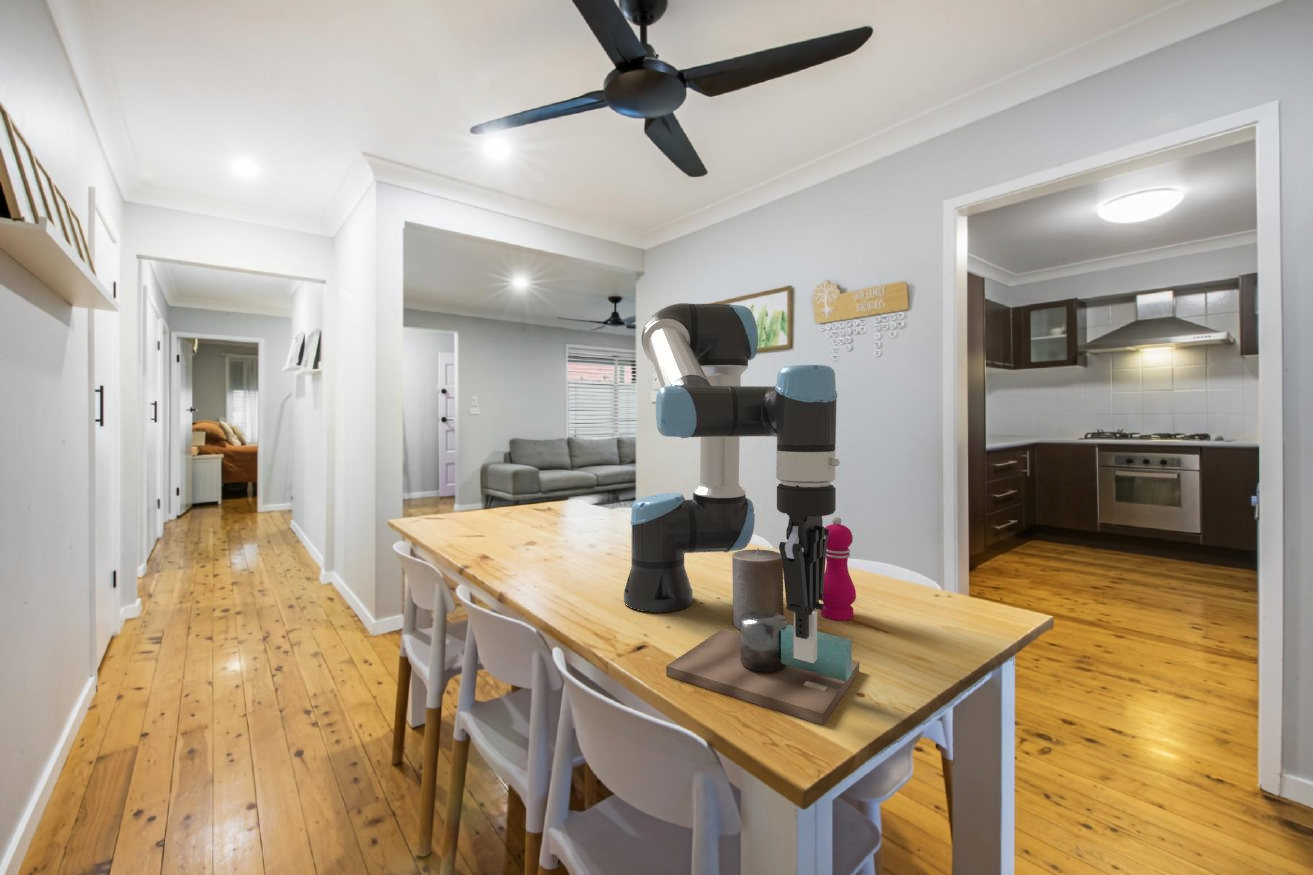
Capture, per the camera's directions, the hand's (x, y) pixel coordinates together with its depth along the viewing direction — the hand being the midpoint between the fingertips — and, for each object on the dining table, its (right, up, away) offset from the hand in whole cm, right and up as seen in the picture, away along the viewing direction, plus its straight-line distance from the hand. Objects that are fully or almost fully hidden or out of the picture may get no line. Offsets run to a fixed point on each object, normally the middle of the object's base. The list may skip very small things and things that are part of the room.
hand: (805, 658), depth 70 cm
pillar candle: (0, -7, +31) cm, 31 cm away
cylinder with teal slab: (0, -5, +8) cm, 9 cm away
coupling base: (-3, -7, +11) cm, 13 cm away
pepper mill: (+17, -7, +36) cm, 40 cm away
